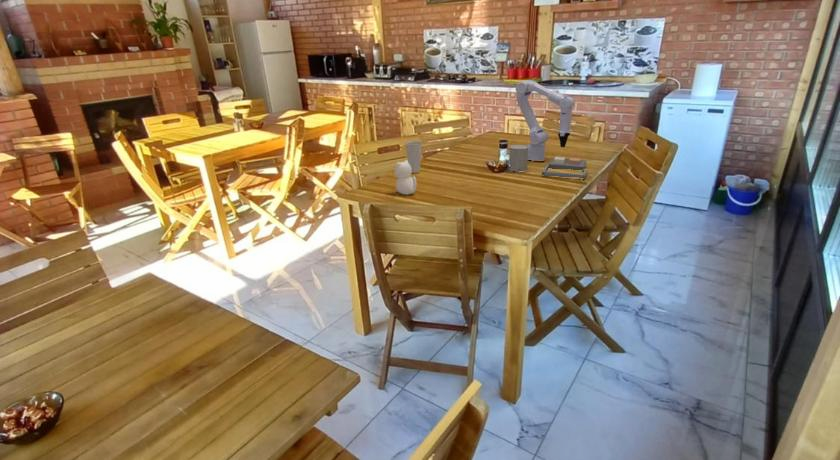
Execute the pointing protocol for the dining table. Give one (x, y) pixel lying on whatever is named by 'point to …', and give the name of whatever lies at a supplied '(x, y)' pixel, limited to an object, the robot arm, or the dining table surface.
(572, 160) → the terracotta tile
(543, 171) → the tray
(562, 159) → the cream tile
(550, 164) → the plate
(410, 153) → the cup
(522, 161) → the grey canister
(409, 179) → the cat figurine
